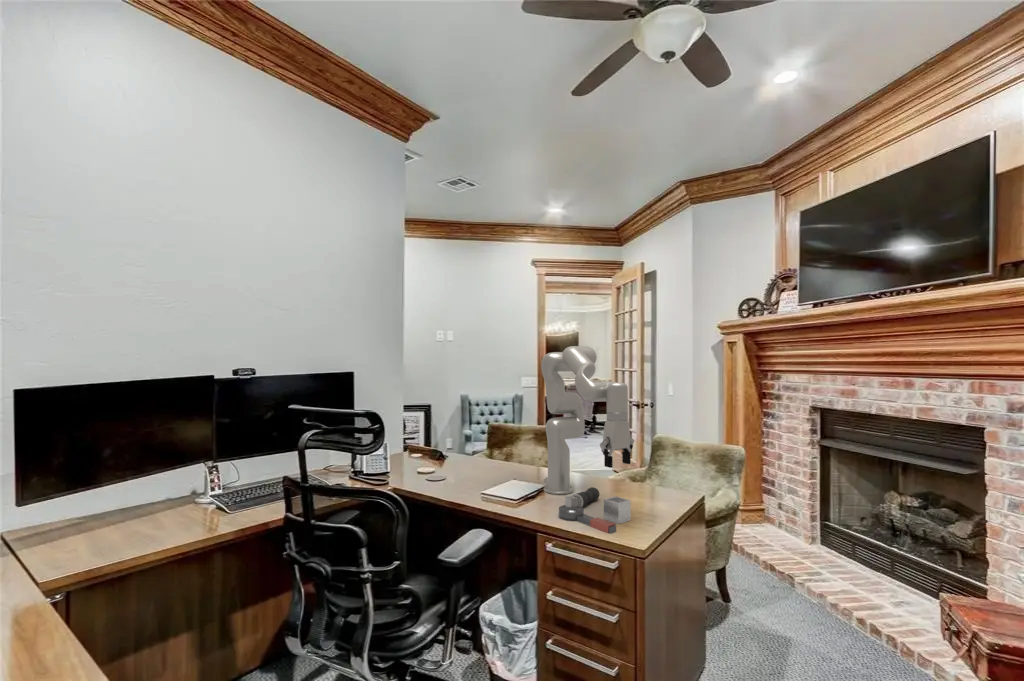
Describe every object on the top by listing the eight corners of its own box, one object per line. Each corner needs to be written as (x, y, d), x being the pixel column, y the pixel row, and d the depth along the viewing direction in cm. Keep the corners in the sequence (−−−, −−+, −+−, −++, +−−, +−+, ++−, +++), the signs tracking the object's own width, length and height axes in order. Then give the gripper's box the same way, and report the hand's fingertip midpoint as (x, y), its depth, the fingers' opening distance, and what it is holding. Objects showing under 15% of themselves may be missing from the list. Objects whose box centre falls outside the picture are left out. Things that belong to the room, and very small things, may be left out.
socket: (603, 519, 173) (603, 499, 173) (616, 515, 177) (616, 496, 178) (618, 524, 168) (618, 503, 168) (630, 520, 172) (630, 500, 172)
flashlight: (588, 498, 200) (588, 485, 200) (600, 500, 196) (600, 487, 197) (570, 507, 187) (570, 493, 187) (582, 509, 184) (582, 495, 184)
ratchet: (621, 529, 163) (621, 508, 163) (603, 535, 157) (603, 513, 157) (571, 511, 182) (571, 492, 182) (553, 516, 176) (553, 496, 176)
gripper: (624, 414, 182) (624, 460, 181) (592, 417, 172) (593, 466, 171) (640, 416, 176) (641, 464, 175) (609, 419, 166) (609, 470, 165)
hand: (617, 465), depth 173 cm, fingers open, 9 cm apart
